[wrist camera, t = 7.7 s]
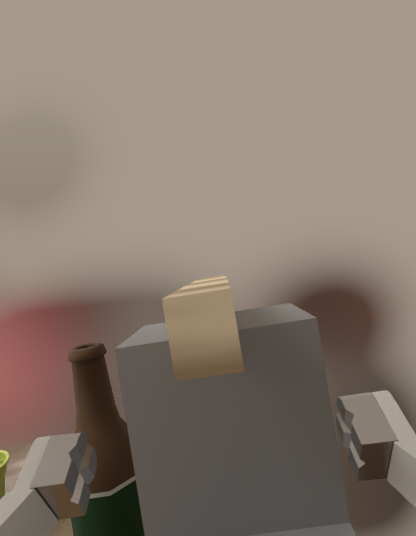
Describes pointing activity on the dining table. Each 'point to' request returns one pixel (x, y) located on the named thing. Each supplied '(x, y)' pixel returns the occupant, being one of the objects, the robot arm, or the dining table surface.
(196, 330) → the stick
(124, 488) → the beer bottle
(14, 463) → the dining table surface
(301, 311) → the stand
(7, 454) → the plant pot
